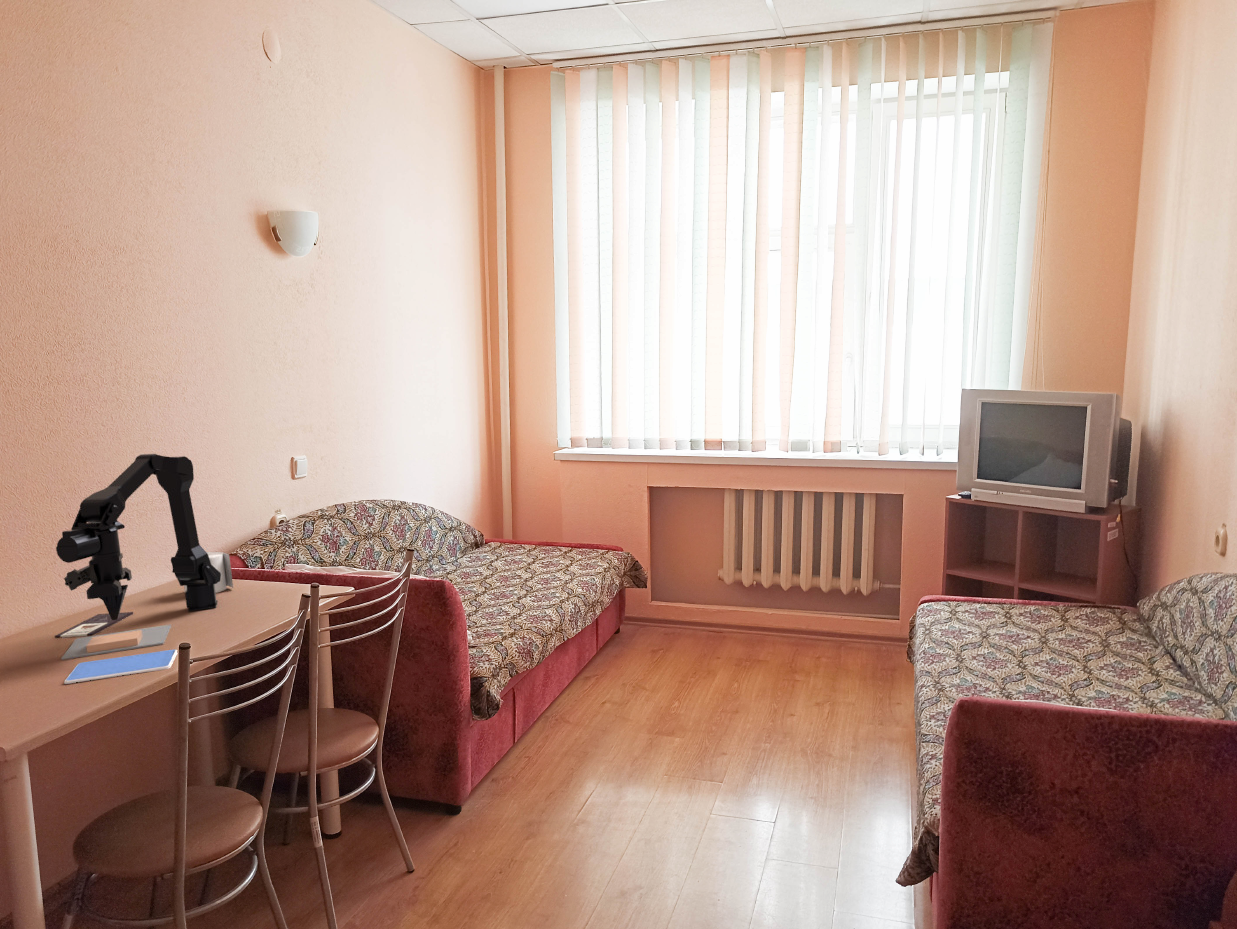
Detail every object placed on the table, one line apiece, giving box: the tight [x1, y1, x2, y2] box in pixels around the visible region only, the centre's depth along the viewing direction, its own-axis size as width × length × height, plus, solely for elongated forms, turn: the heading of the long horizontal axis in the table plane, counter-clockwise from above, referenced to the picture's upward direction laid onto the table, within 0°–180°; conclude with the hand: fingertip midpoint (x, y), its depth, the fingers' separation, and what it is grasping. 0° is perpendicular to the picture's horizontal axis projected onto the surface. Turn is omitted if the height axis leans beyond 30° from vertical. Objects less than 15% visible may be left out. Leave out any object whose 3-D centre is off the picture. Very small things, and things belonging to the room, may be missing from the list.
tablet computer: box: [63, 649, 178, 685], centre depth 189 cm, size 19×13×1 cm, turn 109°
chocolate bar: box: [54, 611, 134, 639], centre depth 224 cm, size 9×1×18 cm
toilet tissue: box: [183, 551, 234, 594], centre depth 252 cm, size 11×12×10 cm
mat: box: [60, 624, 172, 661], centre depth 208 cm, size 20×16×1 cm
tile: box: [86, 630, 142, 653], centre depth 204 cm, size 10×2×7 cm
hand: (114, 619), depth 206 cm, fingers closed
